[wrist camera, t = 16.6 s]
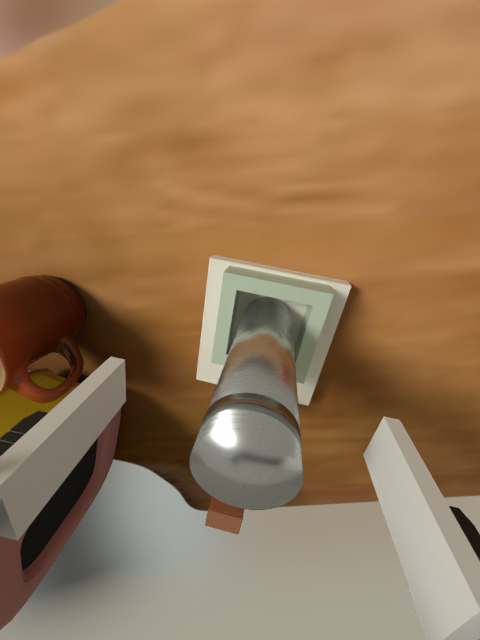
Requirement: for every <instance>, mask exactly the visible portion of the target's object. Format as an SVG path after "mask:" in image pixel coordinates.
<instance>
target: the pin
mask: <svg viewBox="0 0 480 640" xmlns="http://www.w3.org/2000/svg"><path fill="white" fill-rule="evenodd" d="M243 512H244V509H242V508H238V507H234V506H231V505H228V504H226V503H223V502H221V501H219V500H217V499H215V498H214V497H211V500H210V504H209V508H208V514H207V519H206V524H205V525H206V526H210V527H213V528H217V529H221V530H224V531H228V532H231V533H235V534H238V533H239V530H240V527H241V523H242V520H243Z"/></svg>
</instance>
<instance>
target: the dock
mask: <svg viewBox="0 0 480 640" xmlns="http://www.w3.org/2000/svg"><path fill="white" fill-rule="evenodd" d="M350 289H351V285H350V283H349V282H348V281H344V280H339V279H334V278H329V277H324V276H319V275H314V274H309V273H304V272H299V271H294V270H289V269H284V268H279V267H274V266H268V265H263V264H258V263H253V262H248V261H243V260H238V259H233V258H228V257H223V256H218V255H213V256H212V257H210V260H209V269H208V278H207V287H206V296H205V305H204V314H203V323H202V332H201V341H200V350H199V358H198V367H197V376H196V379H197V380H201V381H205V382H210V383H214V384H217V383H218V380H219V378H220V375H221V372H222V370H223V367H224V365H225V362H226V359H227V357H228V354H229V351H230V349H231V346H232V343H233V341H234V338H235V336H236V333H237V330H238V328H239V325H240V322H241V320H242V317H243V314H244V312H245V309H246V308H247V306H248V305H249V304H250V303H251V302H252V301H253V300H255V299H257V298H259V297H265V296H268V297H272V298H277V299H280V300H282V301H283V302H284V303H285V304H286V305H287V306H288V307H289V309H290V311H291V314H292V323H293V337H294V352H295V366H296V381H297V396H298V403H299V404H303V405H307V406H309V403H310V400H311V397H312V395H313V392H314V389H315V386H316V383H317V381H318V378H319V375H320V372H321V370H322V367H323V364H324V361H325V358H326V356H327V353H328V350H329V347H330V345H331V342H332V339H333V336H334V333H335V331H336V328H337V325H338V322H339V320H340V317H341V314H342V311H343V308H344V306H345V303H346V300H347V297H348V295H349V292H350Z"/></svg>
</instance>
